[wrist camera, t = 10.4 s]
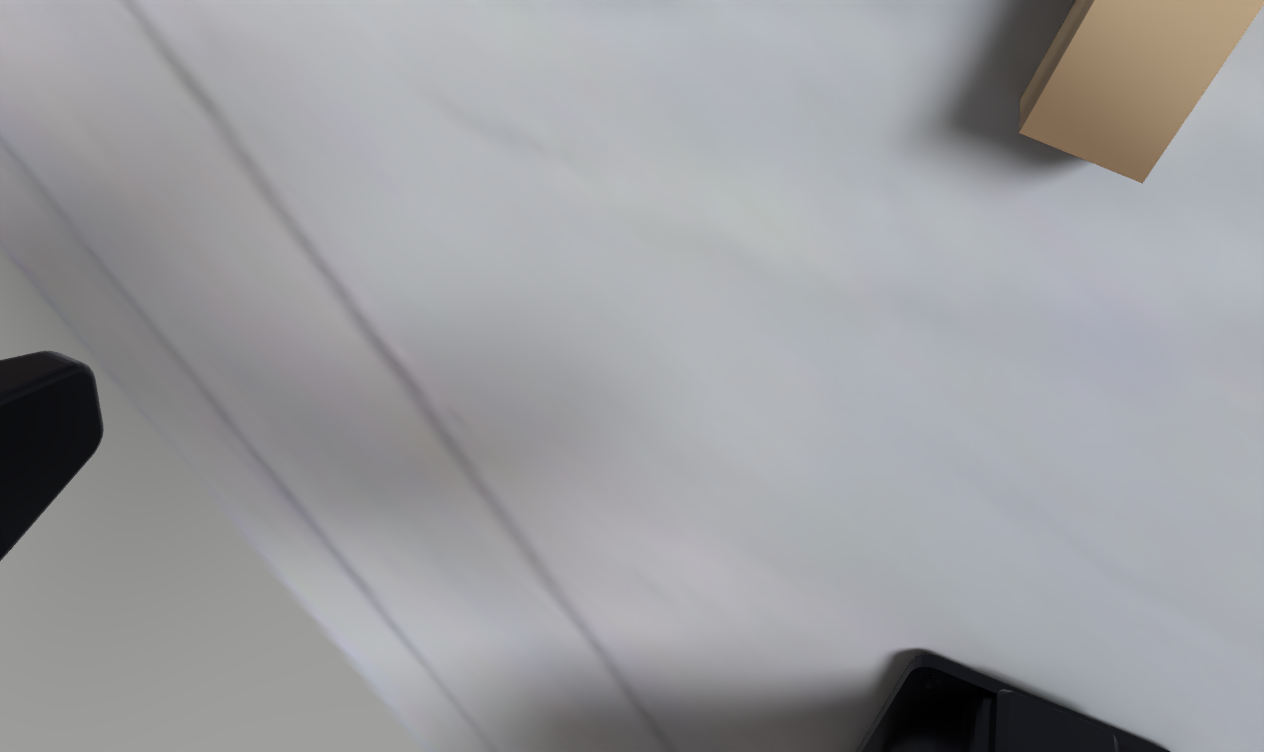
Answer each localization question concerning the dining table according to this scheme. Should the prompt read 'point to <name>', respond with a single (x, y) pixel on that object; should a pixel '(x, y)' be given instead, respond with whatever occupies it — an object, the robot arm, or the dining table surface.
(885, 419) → the dining table surface
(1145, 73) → the tan bar
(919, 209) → the dining table surface
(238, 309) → the dining table surface
